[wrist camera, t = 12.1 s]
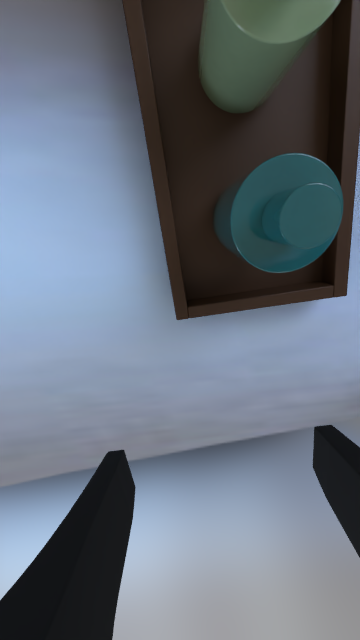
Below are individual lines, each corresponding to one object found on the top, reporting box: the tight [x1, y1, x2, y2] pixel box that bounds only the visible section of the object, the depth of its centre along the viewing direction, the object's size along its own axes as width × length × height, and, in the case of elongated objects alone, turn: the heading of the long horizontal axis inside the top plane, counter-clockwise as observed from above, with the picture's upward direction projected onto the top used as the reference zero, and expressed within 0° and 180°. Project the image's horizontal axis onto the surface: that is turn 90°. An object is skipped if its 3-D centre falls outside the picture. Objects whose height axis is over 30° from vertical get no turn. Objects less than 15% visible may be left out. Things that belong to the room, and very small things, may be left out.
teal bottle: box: [213, 153, 343, 273], centre depth 12 cm, size 4×4×8 cm
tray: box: [122, 0, 360, 320], centre depth 13 cm, size 11×26×2 cm, turn 9°
